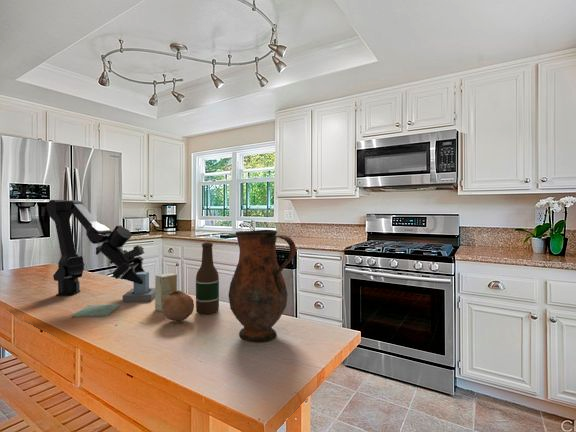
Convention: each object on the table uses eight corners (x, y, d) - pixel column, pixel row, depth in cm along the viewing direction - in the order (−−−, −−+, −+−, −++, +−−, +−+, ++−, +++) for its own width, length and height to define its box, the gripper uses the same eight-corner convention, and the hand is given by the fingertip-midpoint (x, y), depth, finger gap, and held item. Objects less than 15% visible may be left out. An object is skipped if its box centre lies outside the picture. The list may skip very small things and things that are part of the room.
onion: (160, 328, 95) (160, 295, 95) (164, 318, 105) (163, 287, 104) (193, 325, 98) (193, 293, 98) (194, 315, 107) (194, 286, 107)
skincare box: (161, 312, 110) (161, 277, 110) (154, 309, 113) (154, 275, 113) (177, 307, 115) (177, 274, 115) (170, 305, 118) (170, 272, 118)
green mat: (72, 317, 105) (72, 315, 105) (88, 306, 116) (88, 305, 116) (107, 315, 106) (107, 314, 106) (120, 305, 117) (120, 304, 117)
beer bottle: (191, 312, 110) (190, 243, 109) (206, 306, 117) (206, 241, 116) (208, 316, 106) (208, 244, 105) (223, 310, 113) (223, 242, 112)
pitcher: (255, 320, 103) (255, 227, 102) (310, 336, 90) (311, 230, 89) (215, 337, 90) (214, 230, 89) (273, 359, 77) (274, 235, 76)
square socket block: (122, 302, 121) (122, 295, 121) (132, 294, 132) (132, 288, 132) (151, 301, 123) (151, 294, 123) (158, 293, 133) (158, 287, 133)
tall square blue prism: (133, 299, 125) (133, 274, 124) (137, 296, 129) (137, 272, 129) (145, 299, 125) (145, 274, 125) (149, 296, 130) (148, 271, 130)
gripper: (121, 242, 117) (153, 271, 119) (138, 237, 135) (165, 262, 137) (98, 264, 116) (131, 293, 118) (118, 256, 134) (146, 281, 136)
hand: (145, 281), depth 127 cm, fingers open, 7 cm apart
